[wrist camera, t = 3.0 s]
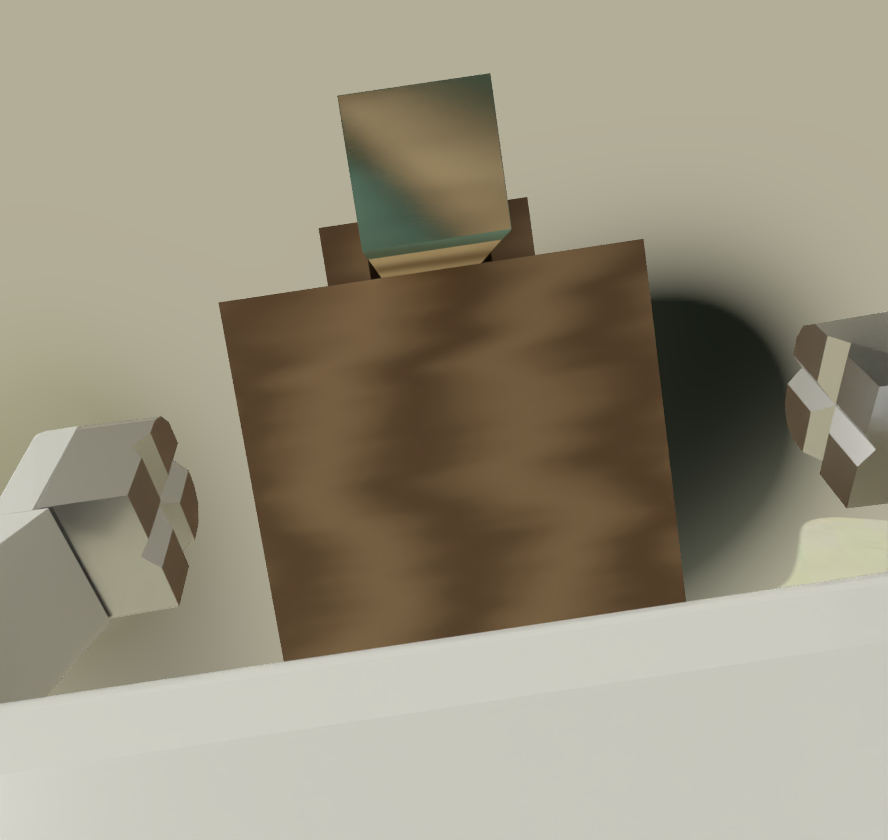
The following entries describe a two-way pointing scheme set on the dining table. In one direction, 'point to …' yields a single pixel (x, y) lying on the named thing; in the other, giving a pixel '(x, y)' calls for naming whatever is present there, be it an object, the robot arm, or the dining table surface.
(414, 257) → the oak bar
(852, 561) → the dining table surface
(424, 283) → the walnut mount
